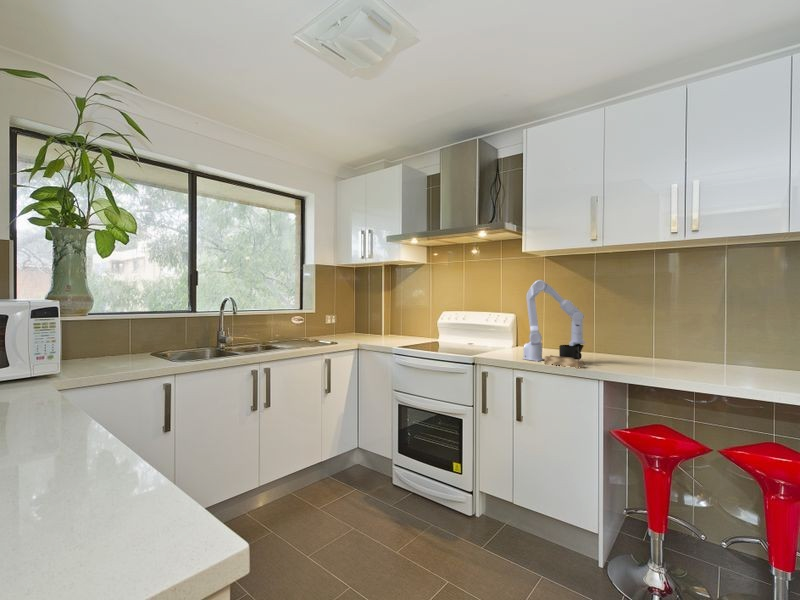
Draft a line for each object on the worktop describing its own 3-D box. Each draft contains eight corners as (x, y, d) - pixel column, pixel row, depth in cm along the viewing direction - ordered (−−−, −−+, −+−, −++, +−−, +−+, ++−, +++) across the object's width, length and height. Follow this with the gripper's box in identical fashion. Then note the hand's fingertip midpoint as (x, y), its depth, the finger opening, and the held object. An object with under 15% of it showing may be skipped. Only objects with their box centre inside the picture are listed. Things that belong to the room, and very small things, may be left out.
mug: (575, 365, 202) (575, 348, 202) (555, 362, 212) (555, 345, 212) (587, 364, 206) (587, 346, 206) (567, 361, 217) (567, 344, 217)
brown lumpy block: (544, 364, 207) (544, 355, 207) (550, 362, 212) (550, 353, 212) (577, 368, 195) (577, 359, 195) (583, 366, 200) (583, 357, 200)
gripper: (578, 334, 206) (578, 360, 206) (590, 332, 216) (589, 357, 216) (565, 333, 211) (565, 359, 212) (576, 331, 221) (576, 356, 222)
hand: (576, 358), depth 214 cm, fingers closed
